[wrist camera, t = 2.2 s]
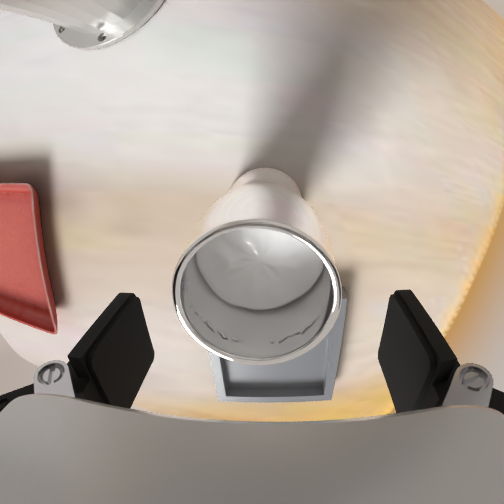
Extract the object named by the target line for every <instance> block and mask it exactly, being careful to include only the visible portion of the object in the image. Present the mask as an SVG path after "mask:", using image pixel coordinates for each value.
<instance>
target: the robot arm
mask: <svg viewBox="0 0 504 504" xmlns="http://www.w3.org/2000/svg"><path fill="white" fill-rule="evenodd" d="M163 1H164V0H0V10H4V11H9V12H13V13H17V14H21V15H25V16H29V17H33V18H36V19H40V20H43V21H47V22H50V23H53V25H54V30H55V32H56V34H57V36H58V37H59V38H60V39H61V41H62V42H64V43H65V44H67V45H69V46H71V47H75V48H78V49H85V50H91V49H100V48H103V47H107V46H110V45H112V44H114V43H117V42H119V41H121V40H123V39H124V38H126V37H128V36H129V35H131V34H133V33H134V32H135V31H136V30H138V29H139V28H140V27H142V26H143V25H144V24H145V23H146V22H147V21H148V20H149V19H150V18H151V17H152V16H153V15H154V14H155V12H156V11H157V10H158V9H159V7H160V6H161V5H162V3H163ZM68 358H69V362H68V363H67V364H66V363H65V362H63V361H60V360H53V361H49V362H47V363H44V364H43V365H41V366H40V367H39V368H38V369H37V370H36V372H35V374H34V384H31V385H28V386H25V387H23V388H20V389H17V390H14V391H12V392H9V393H6V394H3V395H1V396H0V504H504V392H501V391H499V390H496V389H494V388H493V378H492V375H491V374H490V372H489V371H488V370H487V369H486V368H484V367H483V366H480V365H478V364H474V363H467V364H463V365H461V366H460V364H459V362H458V361H457V358H456V356H455V354H454V353H453V351H452V350H451V348H450V347H449V345H448V343H447V342H446V340H445V339H444V337H443V336H442V334H441V333H440V331H439V330H438V328H437V327H436V325H435V324H434V322H433V321H432V319H431V318H430V316H429V315H428V313H427V312H426V310H425V309H424V308H423V306H422V305H421V303H420V302H419V301H418V299H417V298H416V296H415V295H414V294H413V292H412V291H411V290H396V291H395V293H394V294H393V295H390V298H389V303H388V309H387V314H386V319H385V324H384V328H383V333H382V337H381V342H380V346H379V350H378V360H379V363H380V366H381V368H382V371H383V374H384V377H385V380H386V383H387V386H388V388H389V391H390V394H391V397H392V400H393V403H394V407H395V410H396V413H394V414H387V415H379V416H370V417H361V418H351V419H340V420H325V421H303V422H250V421H228V420H213V419H202V418H192V417H182V416H174V415H166V414H159V413H153V412H146V411H140V410H135V409H130V408H131V406H132V404H133V401H134V399H135V397H136V395H137V393H138V391H139V389H140V387H141V385H142V383H143V380H144V378H145V376H146V374H147V372H148V370H149V368H150V366H151V364H152V362H153V360H154V349H153V346H152V343H151V339H150V336H149V332H148V328H147V325H146V321H145V317H144V314H143V310H142V306H141V302H140V299H139V298H138V297H136V296H135V294H134V293H119V294H118V295H117V296H116V297H115V299H114V300H113V301H112V302H111V303H110V304H109V306H108V307H107V308H106V309H105V310H104V311H103V313H102V314H101V315H100V316H99V317H98V319H97V320H96V321H95V322H94V323H93V325H92V326H91V327H90V328H89V330H88V331H87V332H86V333H85V334H84V336H83V337H82V338H81V339H80V341H79V342H78V343H77V344H76V346H75V347H74V348H73V349H72V351H71V352H70V353H69V355H68Z"/></svg>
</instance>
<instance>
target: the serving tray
mask: <svg viewBox="0 0 504 504" xmlns="http://www.w3.org/2000/svg"><path fill="white" fill-rule="evenodd" d="M347 299H348V298H347V296H346V293H345V291H344V288H343V286H342V301H341V307H340V311H339V314H338V317H337V319H336V321H335V323H334V325H333V327H332V328H331V330H330V331H329V333H328V334H327V335H326V336H325V338H324V339H323V340H322V341H321V342H320V343H318V344H317V345H316V346H315V347H314V348H312V349H311V350H309V351H308V352H306V353H304V354H302V355H300V356H298V357H296V358H294V359H291V360H288V361H285V362H281V363H276V364H268V365H251V364H243V363H238V362H234V361H230V360H227V359H224V358H222V357H219V356H217V355H215V354H213V353H212V352H210V351H209V356H210V362H211V367H212V372H213V377H214V382H215V387H216V392H217V397H218V401H226V402H305V401H323V400H331V399H332V394H333V389H334V384H335V379H336V373H337V367H338V362H339V356H340V349H341V343H342V336H343V330H344V322H345V315H346V307H347Z"/></svg>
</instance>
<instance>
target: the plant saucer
mask: <svg viewBox="0 0 504 504" xmlns="http://www.w3.org/2000/svg"><path fill="white" fill-rule="evenodd" d="M0 314H1V315H3V316H5V317H8V318H10V319H13V320H15V321H18V322H20V323H23V324H25V325H28V326H31V327H33V328H36V329H39V330H42V331H45V332H47V333H51V334H57V314H56V307H55V301H54V297H53V293H52V288H51V283H50V279H49V273H48V268H47V262H46V256H45V249H44V243H43V235H42V226H41V217H40V206H39V198H38V195H37V193H36V191H35V189H34V188H33V187H32V186H31V185H30V184H28V183H0Z"/></svg>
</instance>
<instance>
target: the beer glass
mask: <svg viewBox="0 0 504 504" xmlns="http://www.w3.org/2000/svg"><path fill="white" fill-rule="evenodd" d="M172 299H173V304H174V308H175V311H176V314H177V316H178V318H179V320H180V322H181V324H182V325H183V327H184V328H185V330H186V331H187V332H188V333H189V335H190V336H191V337H192V338H193V339H194V340H195V341H196V342H197V343H199V344H200V345H201V346H202V347H204V348H205V349H207V350H208V351H210V352H212V353H213V354H215V355H217V356H219V357H222V358H224V359H227V360H230V361H234V362H238V363H243V364H251V365H268V364H276V363H281V362H285V361H288V360H291V359H294V358H296V357H298V356H300V355H302V354H304V353H306V352H308V351H309V350H311V349H312V348H314V347H315V346H316V345H317V344H318V343H320V342H321V341H322V340H323V339H324V338H325V336H326V335H327V334H328V333H329V331H330V330H331V328H332V327H333V325H334V323H335V321H336V319H337V317H338V314H339V311H340V307H341V301H342V286H341V280H340V276H339V273H338V270H337V268H336V263H335V258H334V254H333V250H332V247H331V243H330V241H329V238H328V235H327V233H326V230H325V228H324V226H323V224H322V222H321V221H320V219H319V217H318V216H317V214H316V213H315V211H314V210H313V208H312V207H311V206H310V205H309V204H308V203H307V202H306V201H305V200H304V199H303V198H302V197H301V193H300V190H299V188H298V186H297V185H296V183H295V182H294V181H293V179H292V178H291V177H289V176H288V175H287V174H285V173H284V172H282V171H280V170H277V169H273V168H257V169H253V170H250V171H248V172H246V173H244V174H243V175H242V176H240V177H239V178H238V179H237V180H236V182H235V183H234V185H233V186H232V188H231V190H230V192H228V193H226V194H225V195H223V196H222V197H220V198H219V199H218V200H217V201H216V202H215V203H214V204H213V205H212V206H211V207H210V208H209V209H208V210H207V211H206V213H205V214H204V215H203V216H202V218H201V219H200V221H199V222H198V224H197V226H196V227H195V229H194V231H193V233H192V235H191V237H190V239H189V241H188V243H187V245H186V248H185V250H184V253H183V254H182V256H181V257H180V259H179V261H178V263H177V266H176V268H175V271H174V275H173V280H172Z"/></svg>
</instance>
